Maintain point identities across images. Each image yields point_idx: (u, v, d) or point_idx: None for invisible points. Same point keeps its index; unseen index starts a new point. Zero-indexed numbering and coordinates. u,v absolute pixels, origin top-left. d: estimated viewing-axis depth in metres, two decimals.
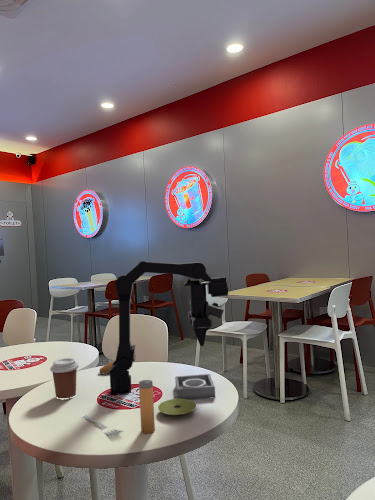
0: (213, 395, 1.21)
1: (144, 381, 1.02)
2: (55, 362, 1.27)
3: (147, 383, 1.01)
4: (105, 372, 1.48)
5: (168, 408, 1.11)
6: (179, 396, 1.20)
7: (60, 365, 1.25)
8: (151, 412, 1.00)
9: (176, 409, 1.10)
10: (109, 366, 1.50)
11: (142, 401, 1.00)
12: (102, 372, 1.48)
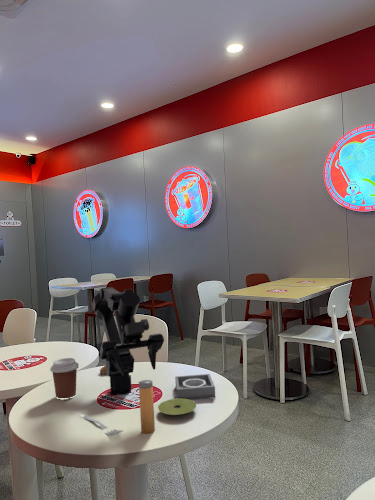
0: (213, 395, 1.21)
1: (144, 381, 1.02)
2: (55, 362, 1.27)
3: (147, 383, 1.01)
4: None
5: (168, 408, 1.11)
6: (179, 396, 1.20)
7: (60, 365, 1.25)
8: (151, 412, 1.00)
9: (176, 409, 1.10)
10: None
11: (142, 401, 1.00)
12: (103, 372, 1.48)
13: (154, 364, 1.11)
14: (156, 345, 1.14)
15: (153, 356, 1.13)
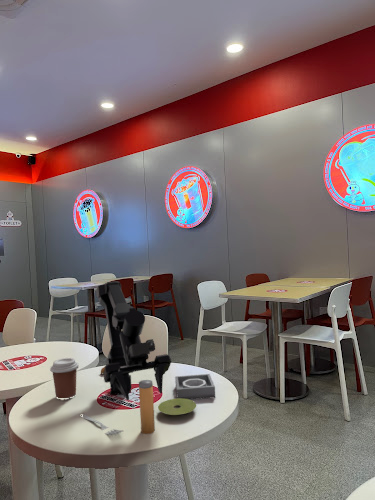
0: (213, 395, 1.21)
1: (144, 381, 1.02)
2: (55, 362, 1.27)
3: (147, 383, 1.01)
4: None
5: (168, 408, 1.11)
6: (179, 396, 1.20)
7: (60, 365, 1.25)
8: (151, 412, 1.00)
9: (176, 409, 1.10)
10: None
11: (142, 401, 1.00)
12: None
13: (161, 387, 1.05)
14: (163, 367, 1.08)
15: (160, 379, 1.06)
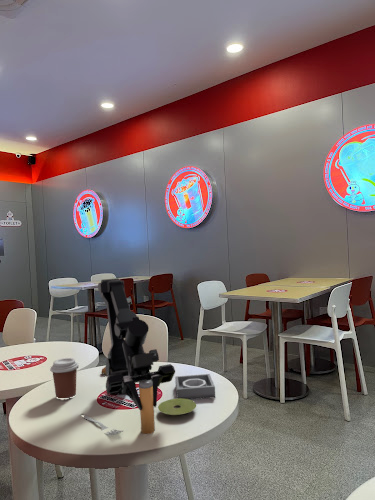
0: (213, 395, 1.21)
1: (144, 381, 1.02)
2: (55, 362, 1.27)
3: (147, 383, 1.01)
4: None
5: (168, 408, 1.11)
6: (179, 396, 1.20)
7: (60, 365, 1.25)
8: (151, 412, 1.00)
9: (176, 409, 1.10)
10: None
11: (142, 401, 1.00)
12: (105, 372, 1.48)
13: (155, 401, 1.01)
14: (157, 379, 1.04)
15: (154, 392, 1.03)
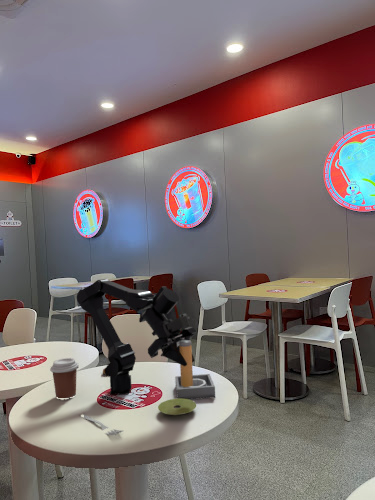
0: (213, 395, 1.21)
1: (182, 341, 1.15)
2: (55, 362, 1.27)
3: (188, 341, 1.14)
4: None
5: (168, 408, 1.11)
6: (179, 396, 1.20)
7: (60, 365, 1.25)
8: None
9: (176, 409, 1.10)
10: None
11: (185, 358, 1.13)
12: None
13: (192, 357, 1.16)
14: (188, 339, 1.18)
15: None
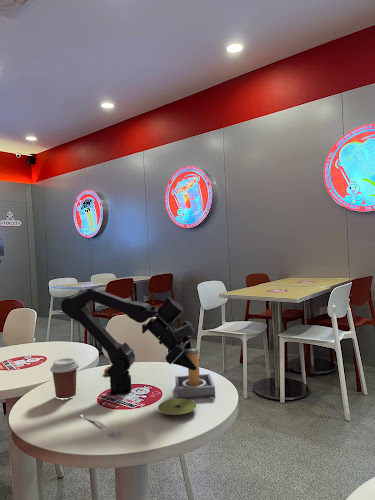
0: (213, 395, 1.21)
1: (189, 350, 1.27)
2: (55, 362, 1.27)
3: (196, 349, 1.27)
4: None
5: (168, 408, 1.11)
6: (179, 396, 1.20)
7: (60, 365, 1.25)
8: None
9: (176, 409, 1.10)
10: None
11: (195, 364, 1.25)
12: None
13: None
14: None
15: None
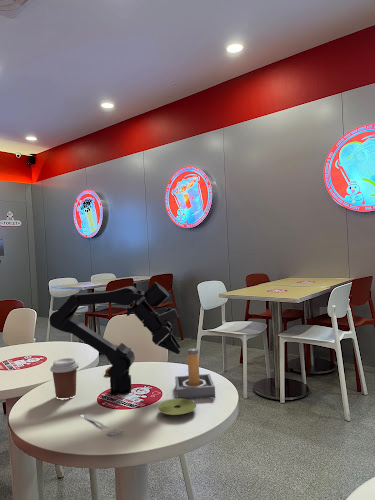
0: (213, 395, 1.21)
1: (189, 350, 1.27)
2: (55, 362, 1.27)
3: (196, 349, 1.27)
4: None
5: (168, 408, 1.11)
6: (179, 396, 1.20)
7: (60, 365, 1.25)
8: None
9: (176, 409, 1.10)
10: None
11: (195, 364, 1.25)
12: None
13: (178, 344, 1.34)
14: None
15: (174, 338, 1.34)
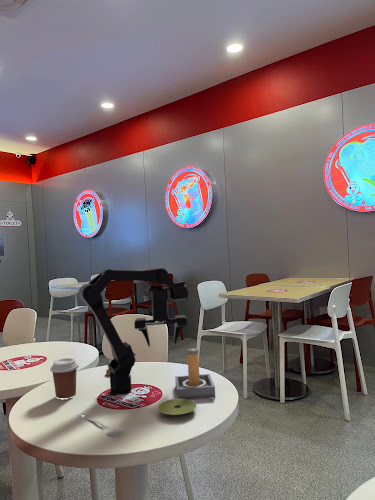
0: (213, 395, 1.21)
1: (189, 350, 1.27)
2: (55, 362, 1.27)
3: (196, 349, 1.27)
4: None
5: (168, 408, 1.11)
6: (179, 396, 1.20)
7: (60, 365, 1.25)
8: None
9: (176, 409, 1.10)
10: None
11: (195, 364, 1.25)
12: None
13: None
14: None
15: None
